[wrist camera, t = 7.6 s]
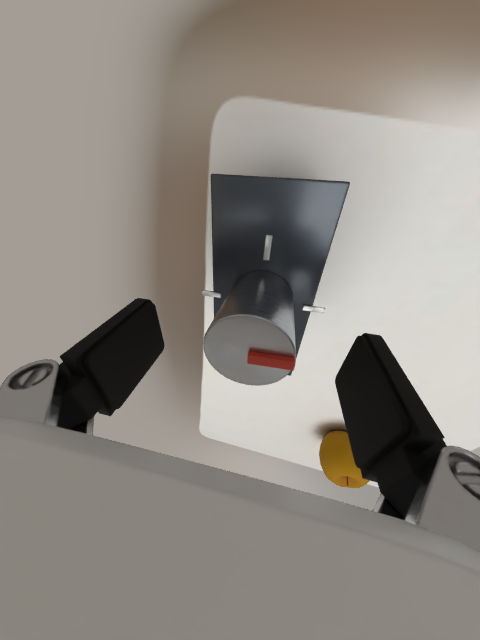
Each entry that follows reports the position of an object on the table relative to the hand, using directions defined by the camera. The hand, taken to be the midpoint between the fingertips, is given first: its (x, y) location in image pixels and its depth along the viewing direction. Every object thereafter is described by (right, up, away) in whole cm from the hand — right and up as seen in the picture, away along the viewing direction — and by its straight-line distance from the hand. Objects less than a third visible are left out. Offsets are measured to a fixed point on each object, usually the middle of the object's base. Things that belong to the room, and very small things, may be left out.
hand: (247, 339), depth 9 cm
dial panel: (+4, +9, +14) cm, 17 cm away
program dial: (+1, +2, +4) cm, 5 cm away
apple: (+20, -23, +31) cm, 43 cm away
